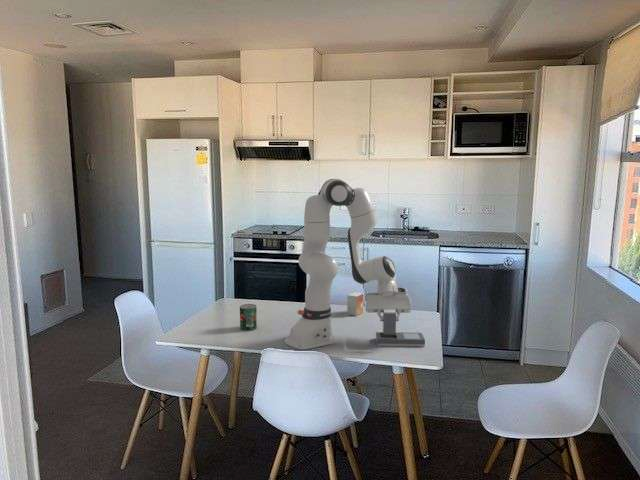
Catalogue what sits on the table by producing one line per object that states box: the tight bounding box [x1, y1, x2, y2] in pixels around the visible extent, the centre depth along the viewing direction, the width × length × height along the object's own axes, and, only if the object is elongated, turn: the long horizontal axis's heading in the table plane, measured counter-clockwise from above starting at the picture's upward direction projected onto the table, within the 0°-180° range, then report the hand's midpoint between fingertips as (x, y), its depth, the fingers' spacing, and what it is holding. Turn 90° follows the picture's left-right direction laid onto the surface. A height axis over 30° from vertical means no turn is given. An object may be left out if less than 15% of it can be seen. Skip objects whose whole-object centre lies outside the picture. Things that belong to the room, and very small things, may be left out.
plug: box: [382, 309, 397, 335], centre depth 211 cm, size 5×5×10 cm
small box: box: [346, 291, 365, 317], centre depth 255 cm, size 8×6×10 cm
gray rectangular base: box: [375, 331, 426, 347], centre depth 212 cm, size 20×9×4 cm, turn 88°
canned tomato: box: [239, 303, 258, 332], centre depth 231 cm, size 8×8×11 cm
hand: (389, 320), depth 211 cm, fingers closed on plug, 5 cm apart
